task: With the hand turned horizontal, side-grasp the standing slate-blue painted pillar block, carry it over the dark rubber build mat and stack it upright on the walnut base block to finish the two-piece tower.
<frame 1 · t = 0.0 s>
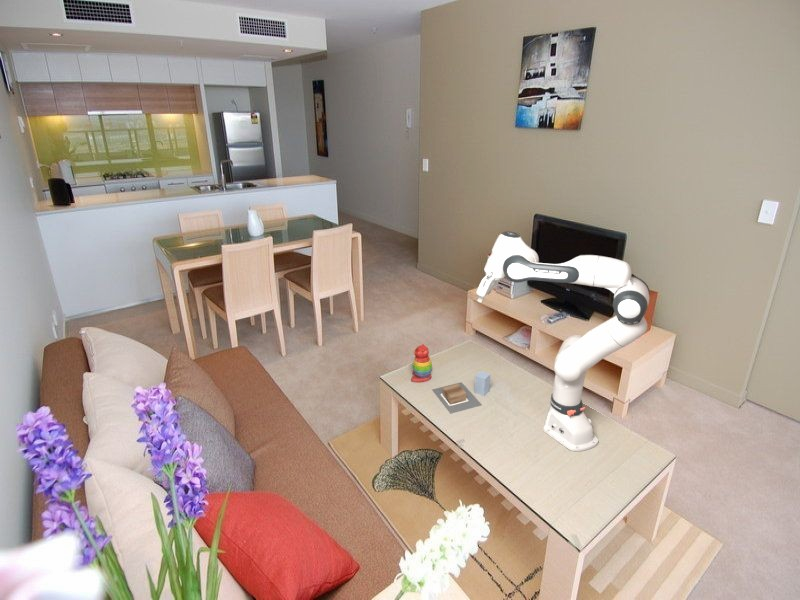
hand: (483, 297, 191), 52 cm above the table, tool tilted 20°, fingers open, 8 cm apart
build mat: (456, 397, 215), on the table
base block: (454, 397, 214), resting on build mat
pillar: (481, 392, 218), on the table
stacking bear: (421, 377, 231), on the table
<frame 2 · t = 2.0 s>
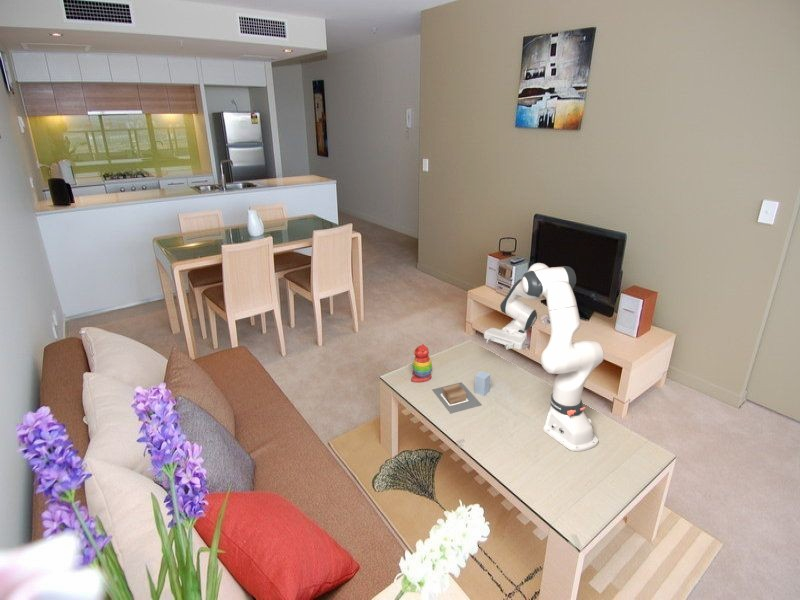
hand: (496, 345, 218), 20 cm above the table, tool horizontal, fingers open, 8 cm apart
nothing on the table moved.
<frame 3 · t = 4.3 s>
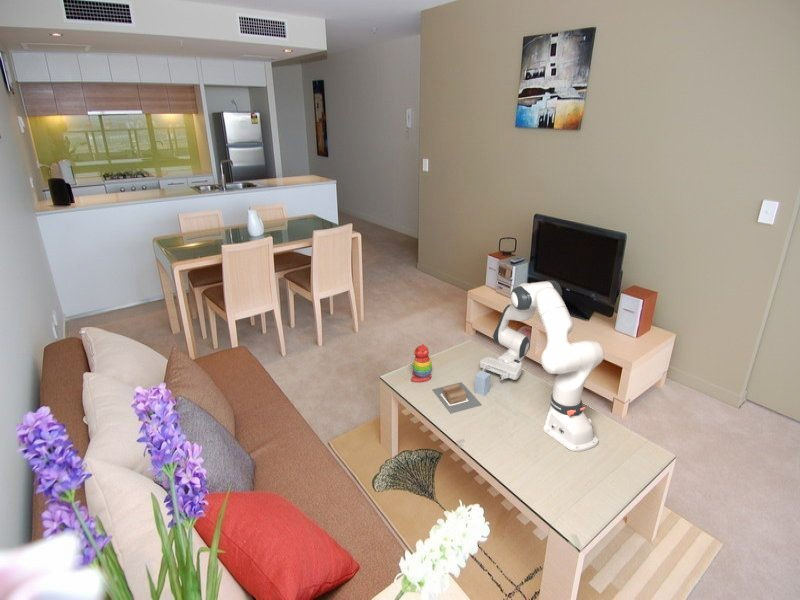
hand: (492, 374, 222), 5 cm above the table, tool horizontal, fingers open, 8 cm apart
nothing on the table moved.
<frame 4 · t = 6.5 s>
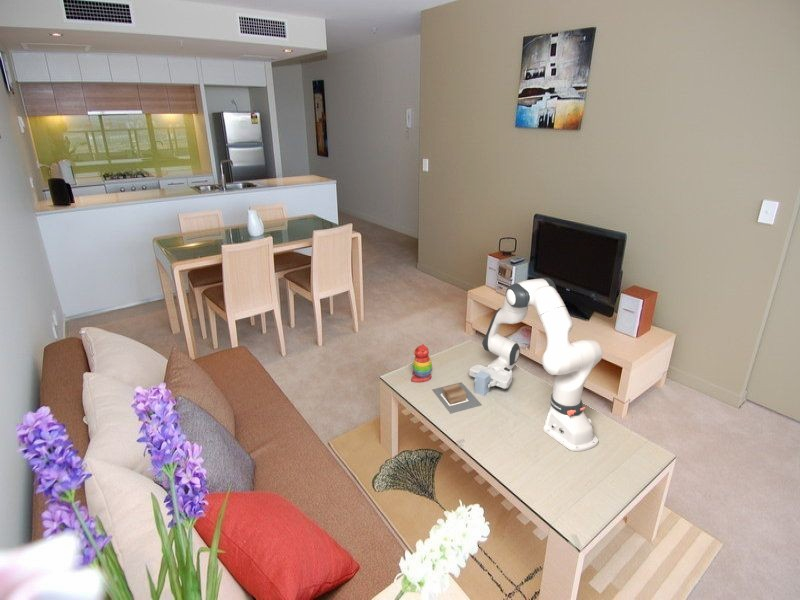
hand: (481, 383, 215), 6 cm above the table, tool horizontal, fingers closed on pillar, 5 cm apart
pillar: (482, 392, 218), on the table, touching gripper
everything else where it was.
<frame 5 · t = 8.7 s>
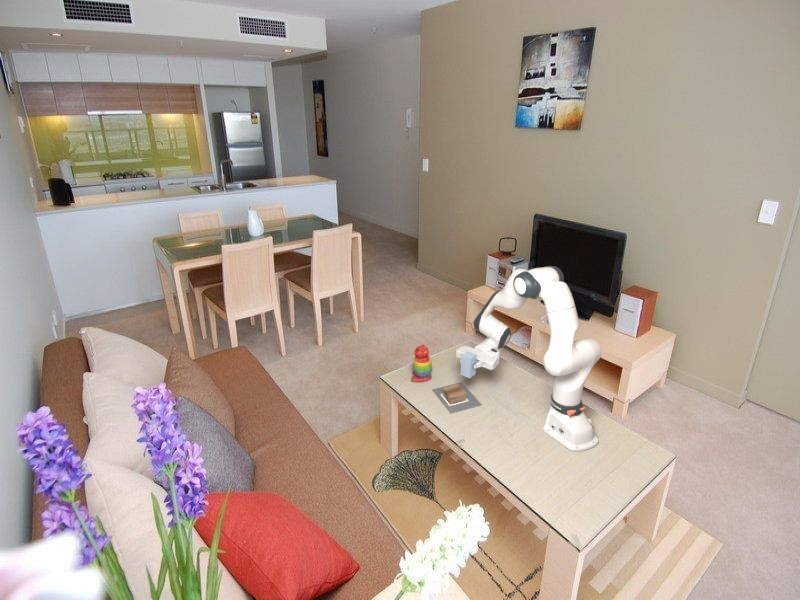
hand: (467, 364, 209), 17 cm above the table, tool horizontal, fingers closed on pillar, 5 cm apart
pillar: (468, 374, 212), point 11 cm above the table, touching gripper
everything else where it was.
when the fingers open (11 cm above the table, at t = 11.0 s): pillar drops 1 cm, resting on base block.
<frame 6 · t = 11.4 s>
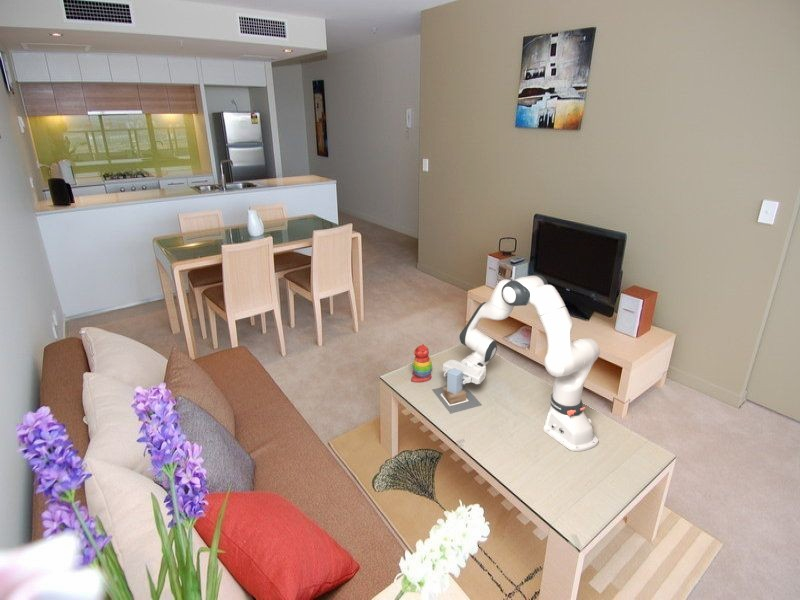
hand: (453, 379, 209), 11 cm above the table, tool horizontal, fingers open, 8 cm apart
base block: (454, 397, 214), resting on build mat, touching pillar
pillar: (454, 390, 213), point 4 cm above the table, touching base block
everything else where it was.
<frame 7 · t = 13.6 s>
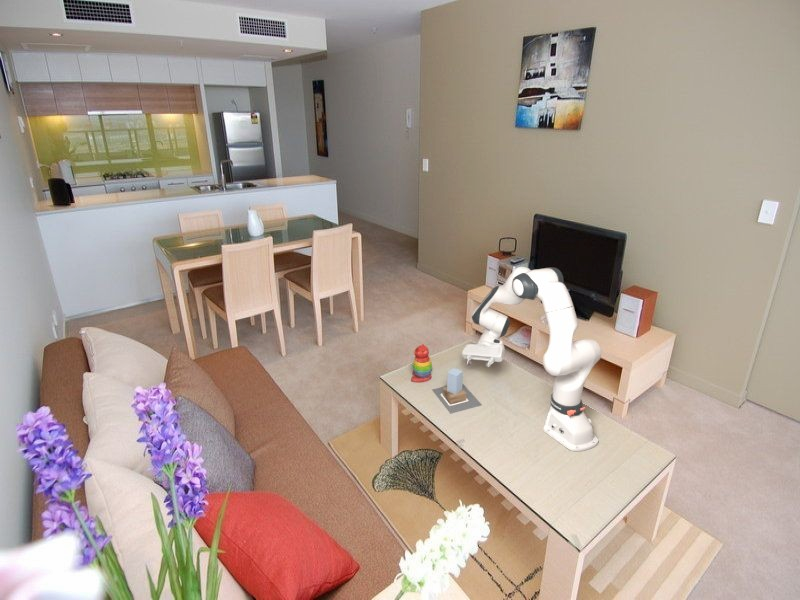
hand: (477, 365, 217), 13 cm above the table, tool tilted 70°, fingers open, 8 cm apart
nothing on the table moved.
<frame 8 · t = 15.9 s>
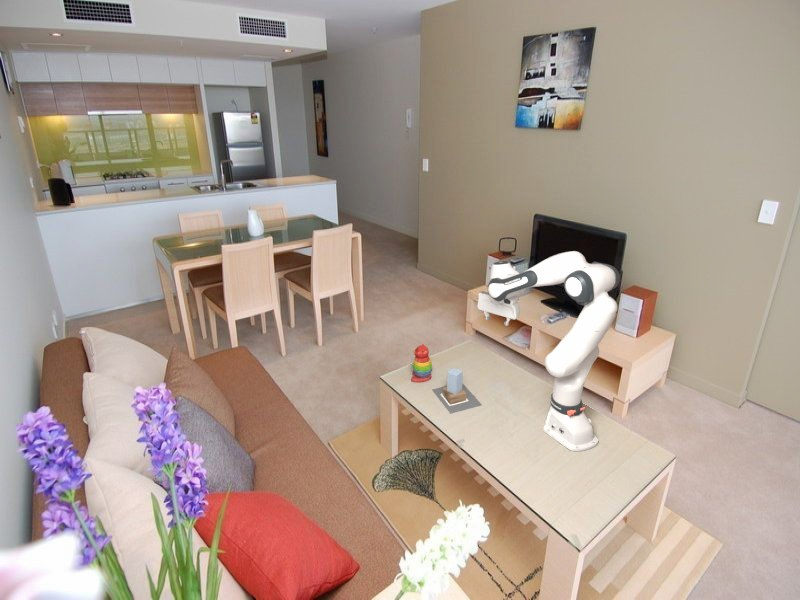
hand: (497, 322, 216), 31 cm above the table, tool pointing down, fingers open, 8 cm apart
nothing on the table moved.
at the end: pillar 0.0 cm off-centre on the base block, point 4.0 cm above the base block's base; pillar tilted 0°; the gripper is holding nothing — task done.
